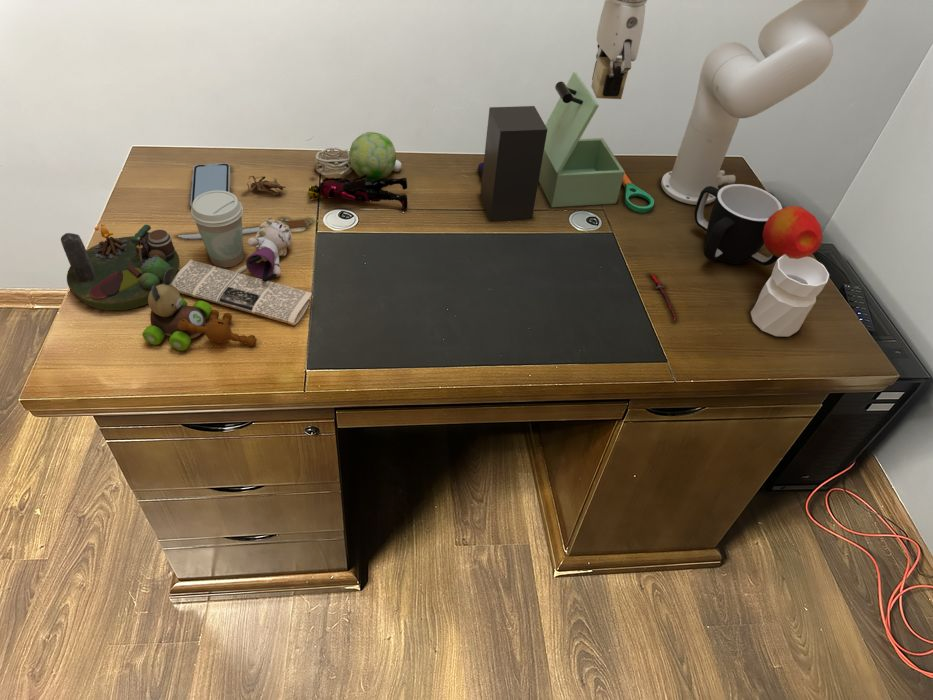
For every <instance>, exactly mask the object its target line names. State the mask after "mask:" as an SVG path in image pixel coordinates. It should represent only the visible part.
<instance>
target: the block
mask: <svg viewBox="0 0 933 700" xmlns="http://www.w3.org/2000/svg"><path fill="white" fill-rule="evenodd" d="M617 59H622V57H617ZM596 61H597V62H596ZM596 61H595V63H596V67H595V66H594V68H595V71H594V70H593V72H594V76H593V75H592V77H593V80H592V79H591V80H592V81H591V86H590V87H591V89H592V91H593V95H594V96H595V98H596V99H603V100H604V99H606V100H607V99H609V100H612V99H613V100H622V97H623V95H624V94H623V93H624V90H625V86H626V81H627V79H628V78H627V77H628V74H629V71H627V72H626V73H625V76H624V77H623V80H622V84H621V88H620V92H619V95H618V96H604V95H603V89H604V85H605V81H606V76H607V75H609V70H610V58H609V57H598V58H597V59H596ZM618 66H621V63H615V68H616V67H618Z"/></svg>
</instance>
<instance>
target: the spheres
mask: <svg viewBox="0 0 933 700" xmlns="http://www.w3.org/2000/svg"><path fill="white" fill-rule="evenodd" d="M402 166H403V165H402V162H401V161H400V160H399V159H396V163H395V167H394V169H393V170H392V172H394V173H395V172H396V173H398V172H400V171H401V170H402Z"/></svg>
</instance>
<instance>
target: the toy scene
mask: <svg viewBox="0 0 933 700" xmlns="http://www.w3.org/2000/svg"><path fill="white" fill-rule="evenodd" d="M99 229H100V236H101V237H102V238H105V240H104V241H103V240H101V241H99V242H98V244H95V245H93V246H91V247H90V248H88V249H86V247H85V245H84V242H83V239H81V236H80V235H79V234H77V233H73V232H66V233H64V234H63V235H62V236H61V237H60V242H61V246H62V248H63V251H64V252H65V256H66V258H67V260H68V263H69V265H70V266H69V268H68V271H67V273H66V283H67V286H68V288H69V290H70V291H71V292H72V293H73V294H74V295H75V296H77V297H78V298H79V299H80V300H81V301H82V302H83V303H85V304H86V305H88V306H91V307H93V308H96V309H100V310H103V311H127V310H132V309H136V308H140V307H143V306H146V305H149V304H148V296H149V293H150V292H151V290H152V287H153V286H158V285H161V284H164V282H163V279H164V275H165V272H166V271H167V270H168V269H169V268H174V273H173V275H172V277H171V280H170V283H171V281H172V279H173V278H174V277H175V275H176V274H177V273H178V272H179V268H180V257H179V254H178V252H177V250H176V249H175V246H174V243H173V239H172V236H171V234H170V233H168V232H167V230H164V229H155V230H153V231H150V230H151V229H152V227H151V225H150V224H144V225H143V226H142V227H140V229H139V230H138V231H137V232H136V233H135V234H134V235H132V236H123V237H122V236H121V237H113V235H114V232H113V231H109V230H108V228H107V227H106V226H105V223H103V222H102V223H100V227H99V226H95V227H94V231H99ZM170 283H169V284H170Z"/></svg>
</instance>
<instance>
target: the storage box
mask: <svg viewBox="0 0 933 700" xmlns="http://www.w3.org/2000/svg"><path fill="white" fill-rule="evenodd" d="M624 173H626V172H625V170H624V168H623V167H622V164H621V163H620V162H619V161H618V159H617V157H616V156H615V155H614V153H613V151H612V150H611V147H609V145H608V144H607V142H606V141H605V139H604V138H603V137H596V138H580V139H579V141H578V143H577V145H576V146H575V148H574V150H573V152H572V153H571V155H570V157H569V158H568V160H567V162H566V164H565V165H564V167H563V169H562V171H561V172H560V174H559V173H557V172H556V171H555V169H554V167H553V165H552V163H551V161H550V159H549V157H548V156H547V154H546V152H545V150H544V153H543V158H542V164H541V170H540V176H539V182H538V184H539V185H540V187H541V188H542V191H543V193H544V195H545V197H546V199H547V201H548V203H549V205H550V207H551V208H564V207H566V208H567V207H581V206H582V207H583V206H596V205H598V206H599V205H613V204H614V205H615V204H617V201H618V198H619V194H620V191H621V187H622V185H623V184H622V180H623V177H624Z"/></svg>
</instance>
